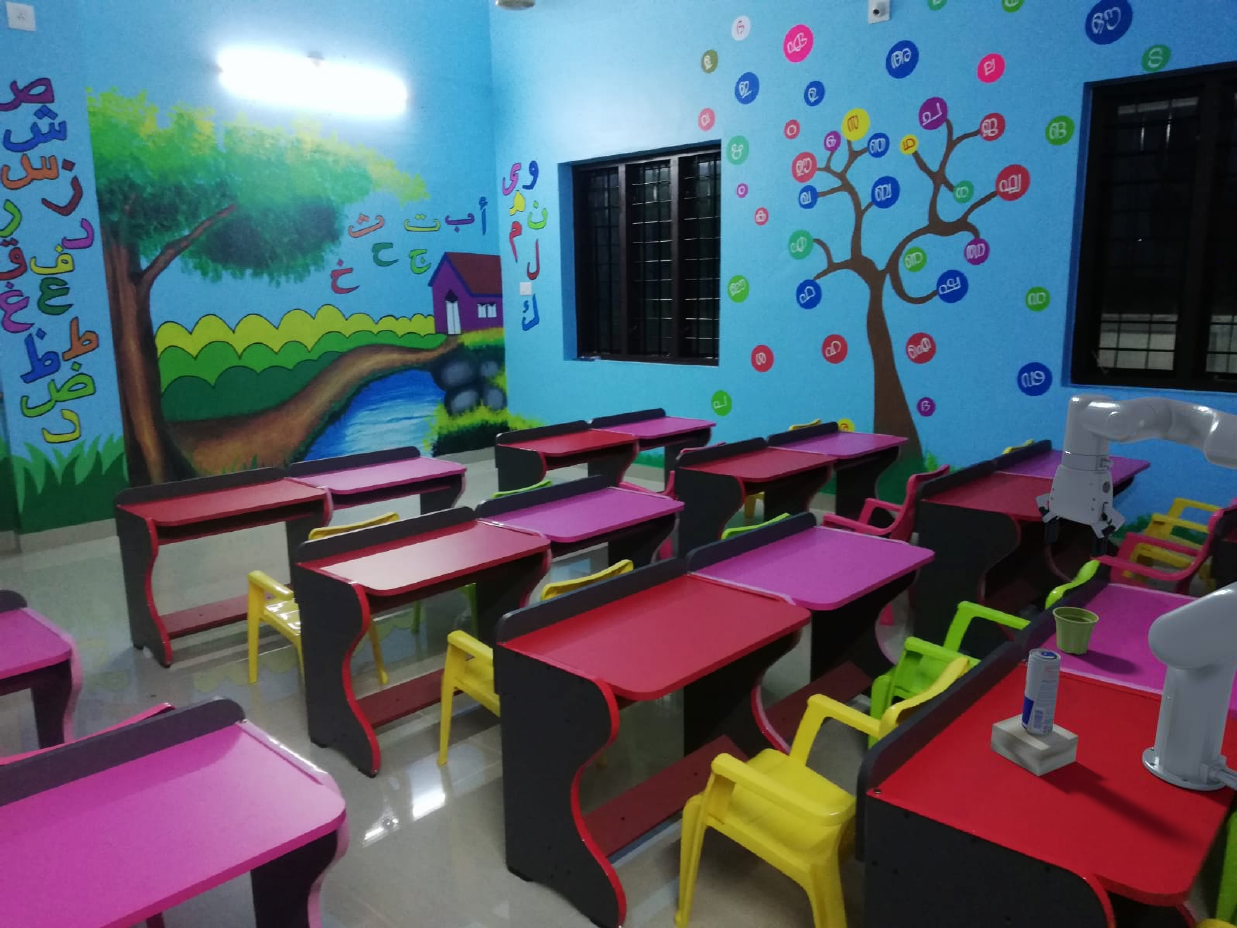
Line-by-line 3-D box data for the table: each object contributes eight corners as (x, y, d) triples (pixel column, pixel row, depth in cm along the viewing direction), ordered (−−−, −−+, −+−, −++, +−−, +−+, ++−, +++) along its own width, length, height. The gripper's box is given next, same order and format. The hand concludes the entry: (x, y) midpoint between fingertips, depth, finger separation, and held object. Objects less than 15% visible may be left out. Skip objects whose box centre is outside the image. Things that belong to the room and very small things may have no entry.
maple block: (1075, 761, 156) (1078, 735, 155) (1038, 776, 152) (1041, 750, 151) (1026, 735, 165) (1029, 711, 164) (990, 748, 160) (992, 724, 159)
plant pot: (1039, 645, 204) (1043, 610, 202) (1067, 637, 208) (1072, 603, 206) (1075, 661, 196) (1079, 625, 194) (1103, 653, 199) (1108, 618, 197)
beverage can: (1045, 723, 159) (1054, 647, 156) (1056, 738, 155) (1066, 660, 151) (1016, 722, 160) (1025, 646, 157) (1026, 736, 155) (1035, 659, 152)
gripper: (1142, 468, 156) (1130, 559, 160) (1055, 450, 171) (1045, 533, 175) (1116, 473, 152) (1104, 565, 156) (1030, 454, 167) (1020, 539, 171)
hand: (1073, 548), depth 165 cm, fingers open, 9 cm apart
